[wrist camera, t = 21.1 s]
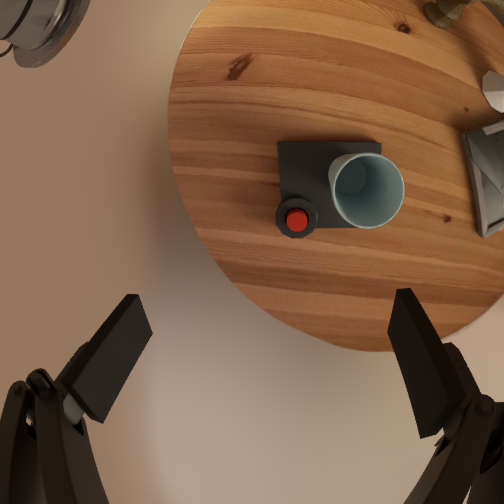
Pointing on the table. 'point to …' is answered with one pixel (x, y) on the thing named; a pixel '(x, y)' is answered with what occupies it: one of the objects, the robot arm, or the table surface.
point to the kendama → (453, 10)
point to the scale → (312, 182)
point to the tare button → (296, 220)
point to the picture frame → (486, 174)
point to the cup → (366, 189)
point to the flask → (494, 90)
